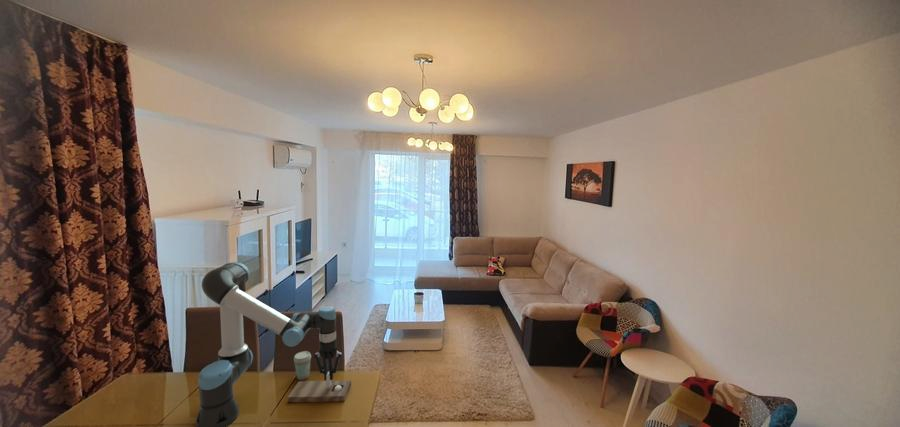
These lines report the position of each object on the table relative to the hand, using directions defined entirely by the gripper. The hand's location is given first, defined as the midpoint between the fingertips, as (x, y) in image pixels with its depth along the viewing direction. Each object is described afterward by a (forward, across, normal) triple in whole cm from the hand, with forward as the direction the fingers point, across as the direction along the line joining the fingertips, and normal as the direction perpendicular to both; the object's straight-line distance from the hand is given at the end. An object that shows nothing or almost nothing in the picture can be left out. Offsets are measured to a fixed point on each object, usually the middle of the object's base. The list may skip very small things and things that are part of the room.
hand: (329, 385), depth 158 cm
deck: (+4, -4, 0) cm, 5 cm away
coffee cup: (+4, -18, +14) cm, 23 cm away
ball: (+2, +4, 0) cm, 5 cm away
